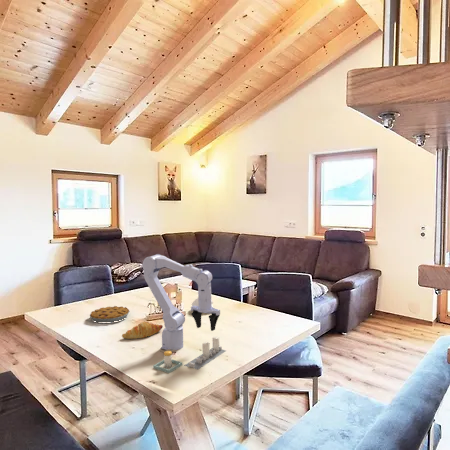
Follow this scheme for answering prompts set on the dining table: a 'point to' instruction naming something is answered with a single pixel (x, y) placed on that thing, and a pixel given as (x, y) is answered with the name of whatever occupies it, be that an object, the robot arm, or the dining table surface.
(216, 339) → the fuse far
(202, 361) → the fuse panel
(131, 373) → the dining table surface
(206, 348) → the fuse middle
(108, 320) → the pie
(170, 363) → the cylinder
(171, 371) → the tray
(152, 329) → the croissant
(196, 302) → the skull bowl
